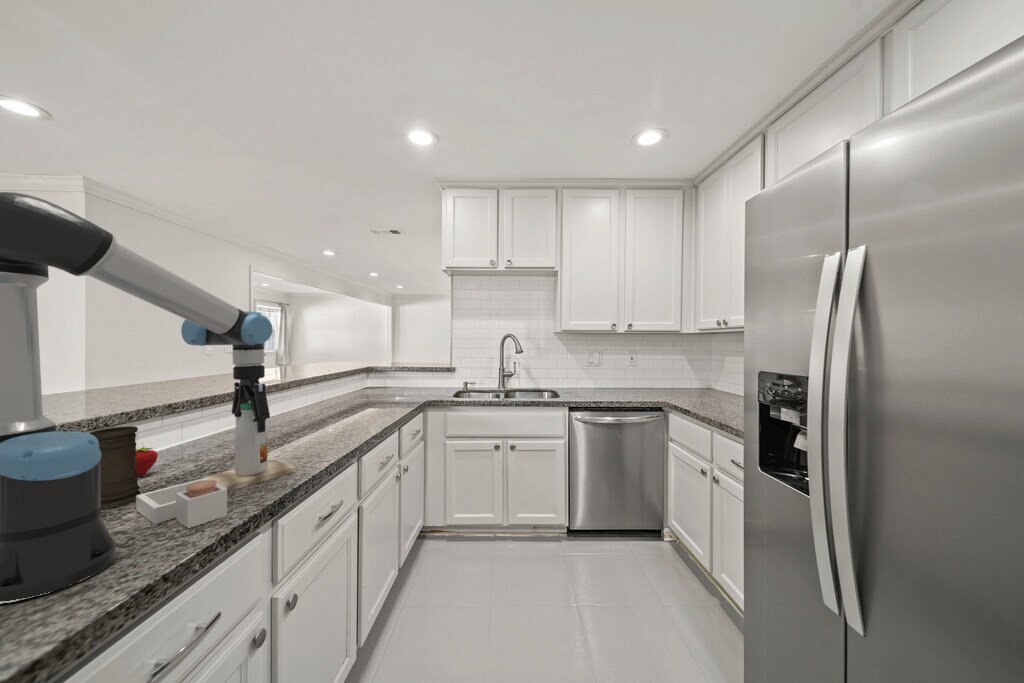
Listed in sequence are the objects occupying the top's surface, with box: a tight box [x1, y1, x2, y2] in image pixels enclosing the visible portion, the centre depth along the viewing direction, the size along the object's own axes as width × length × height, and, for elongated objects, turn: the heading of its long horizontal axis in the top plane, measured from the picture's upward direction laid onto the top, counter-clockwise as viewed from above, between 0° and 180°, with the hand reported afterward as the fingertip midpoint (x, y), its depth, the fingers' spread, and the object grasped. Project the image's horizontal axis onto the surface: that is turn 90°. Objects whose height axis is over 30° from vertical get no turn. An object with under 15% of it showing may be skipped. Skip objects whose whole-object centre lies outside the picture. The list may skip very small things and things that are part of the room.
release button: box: [186, 480, 216, 498], centre depth 86 cm, size 5×5×6 cm
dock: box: [135, 477, 228, 529], centre depth 90 cm, size 13×22×6 cm, turn 56°
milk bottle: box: [234, 402, 268, 476], centre depth 111 cm, size 8×8×20 cm
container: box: [88, 425, 142, 510], centre depth 95 cm, size 9×9×18 cm
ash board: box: [203, 459, 297, 493], centre depth 112 cm, size 18×14×2 cm
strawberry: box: [136, 441, 159, 478], centre depth 114 cm, size 6×8×10 cm
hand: (250, 441), depth 112 cm, fingers open, 11 cm apart
